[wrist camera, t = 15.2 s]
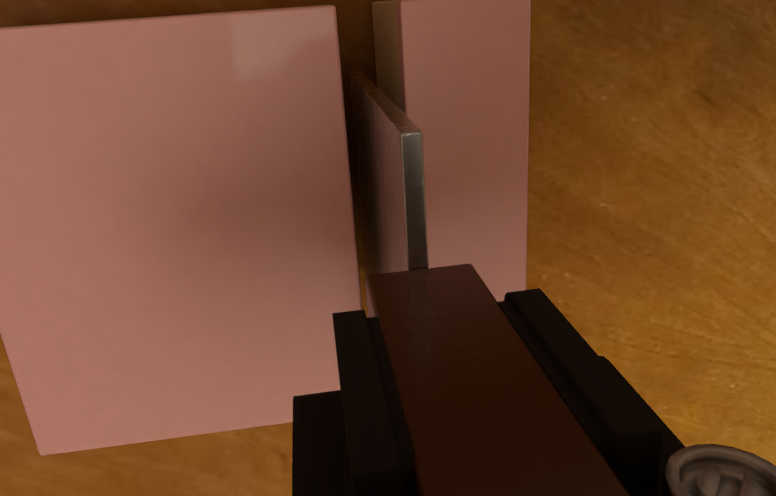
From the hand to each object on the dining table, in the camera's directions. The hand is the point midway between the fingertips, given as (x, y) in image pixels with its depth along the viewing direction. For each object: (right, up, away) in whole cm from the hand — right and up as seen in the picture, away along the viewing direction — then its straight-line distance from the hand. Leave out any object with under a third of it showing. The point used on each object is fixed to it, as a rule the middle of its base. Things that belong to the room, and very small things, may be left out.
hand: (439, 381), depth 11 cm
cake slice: (+1, +5, +14) cm, 15 cm away
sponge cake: (-8, +4, +13) cm, 15 cm away
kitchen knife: (-2, +4, +12) cm, 13 cm away
